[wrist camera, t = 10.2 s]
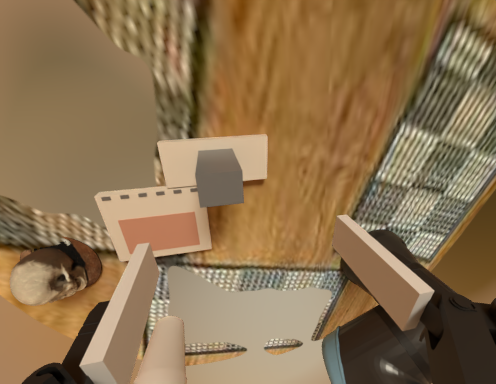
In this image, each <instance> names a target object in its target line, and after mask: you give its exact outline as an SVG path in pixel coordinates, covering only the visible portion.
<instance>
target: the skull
mask: <svg viewBox="0 0 496 384" xmlns="http://www.w3.org/2000/svg"><path fill="white" fill-rule="evenodd" d="M63 238H65V239H67V240H69V241H70V240H71V241H70V242H71V243H72V244H70V245H69V246H66V245H67V244H64V243H63V242H61V244H59V245H58V246H57V245H55V246H51V247H46V248H40V250H37V249H36V248H35V249H34V250H35V251H34V252H33V253H32V251H31V249H30V250H28V251H27V250H26V251H25V252H21V256H20V261H19V263H17V264H16V266H15V267H14V268H13V270H12V273H11V277H10V288H11V291H12V294H13V295H14V296H15V298H16V299H17V300H18V301H20V302H21V303H24V304H27V305H32V306H36V305H42V304H46V303H47V302H50V303H52V302H54V301H56V300H58V299H63V298H64V297H69V296H72V295H74V294H75V293H76V291H80V290H82V289H84V288H86V287H88V286H90V285H92V284H93V283H94V282H95V281H96V280H97V279H98V277H99V275H100V273H101V268H102V267H101V263H100V260H99V258H98V256H97V255H96V253H95V252H94V251H93V250H92V249H91V248H89V246H87V245H86V244H83V243H82V242H80V241H77V240H74V239H71V238H66V237H63ZM73 246H74V247H73Z"/></svg>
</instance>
